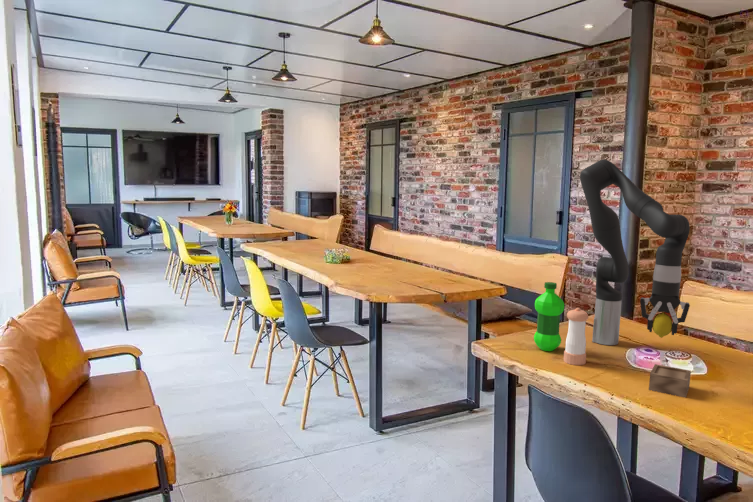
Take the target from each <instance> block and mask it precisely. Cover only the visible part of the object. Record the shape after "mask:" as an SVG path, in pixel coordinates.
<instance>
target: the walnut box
mask: <svg viewBox="0 0 753 502" xmlns="http://www.w3.org/2000/svg"><path fill="white" fill-rule="evenodd" d="M691 374H692V371H691V370H690V369H689V370H688V369H684V368H678V367H674V366H673V367H672V366H667V365H661V364H656V363H655V364H654V365H653V368H652V369H651V371H650V372H649V383H648V391H651V390H652V392H656V391H657V393H662V394H665V393H666V394H667V395H670V394H671V396H675V395H676V397H679V398H680V397H681V398H685V399H686V398H687V396H688V393H689V389H690V384H691ZM666 394H665V395H666Z"/></svg>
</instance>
